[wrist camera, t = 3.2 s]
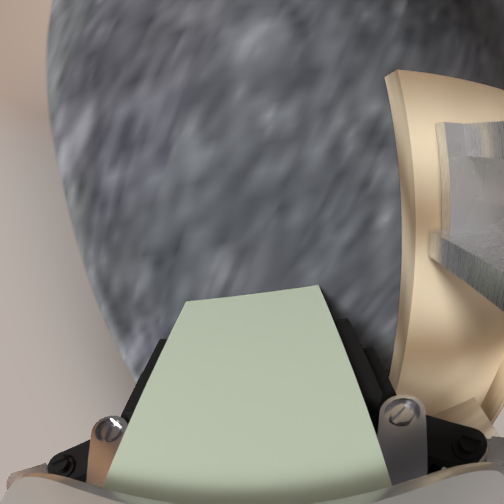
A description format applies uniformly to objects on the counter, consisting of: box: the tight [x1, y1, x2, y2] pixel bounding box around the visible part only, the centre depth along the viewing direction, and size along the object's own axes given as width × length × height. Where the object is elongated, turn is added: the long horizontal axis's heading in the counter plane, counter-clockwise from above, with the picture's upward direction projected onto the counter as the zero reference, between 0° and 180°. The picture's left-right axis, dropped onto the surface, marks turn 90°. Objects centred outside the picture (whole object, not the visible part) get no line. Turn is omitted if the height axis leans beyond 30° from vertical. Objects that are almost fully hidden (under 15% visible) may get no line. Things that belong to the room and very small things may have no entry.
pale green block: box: [102, 285, 392, 504], centre depth 8 cm, size 4×6×9 cm
